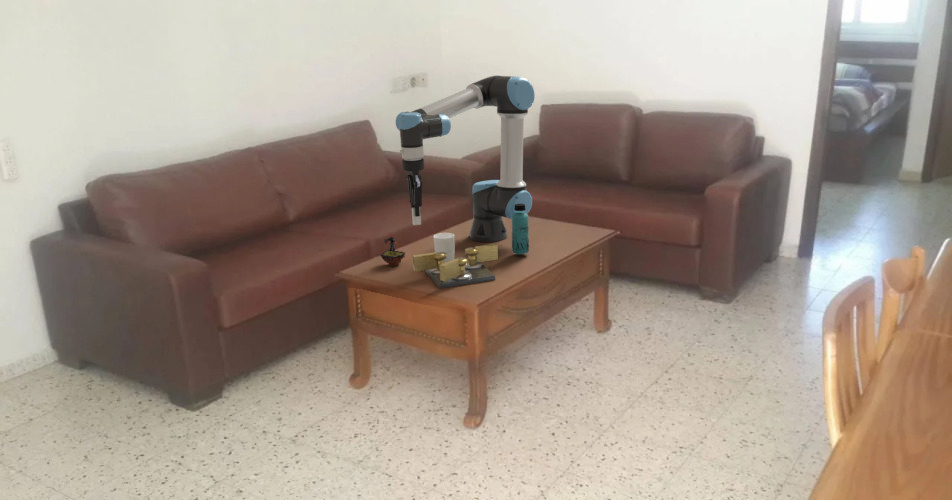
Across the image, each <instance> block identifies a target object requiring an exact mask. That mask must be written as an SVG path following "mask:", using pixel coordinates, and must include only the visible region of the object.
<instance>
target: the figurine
mask: <svg viewBox="0 0 952 500" xmlns="http://www.w3.org/2000/svg"><path fill="white" fill-rule="evenodd" d="M389 241H390V243H389V249H388V250H384V251H383V252H382V253H381V254H380V257H381V259H382V260H383V261H384V262H385V263H387V264H388V265H389V266H391V267H395V266H397V265H399V264H401V262H402V260H403V259H404V258H405V255H406V252H405V251H399V250H396V248H395V244H396V246H397V247H400V245H399V244H398V243H397V241H396V240H395V237H394V236H393V234H390V236H389V237H388V238H387V239H384V240H383V242H384V245H385V244H386V245H387V243H388V242H389Z"/></svg>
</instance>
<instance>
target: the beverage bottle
mask: <svg viewBox="0 0 952 500" xmlns="http://www.w3.org/2000/svg"><path fill="white" fill-rule="evenodd" d="M514 210H515V211H524V210H526V208H525V204H522V203H519V204H515V208H514ZM529 235H530V233H529V215H528V213H527V214H526V213H525V212H515V213H514V214H513V215H512V219H511V248H512V249H511V251H512V253H513V254H515V255H525V254H528V253H529V251H530V240H529V237H530V236H529Z"/></svg>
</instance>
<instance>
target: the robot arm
mask: <svg viewBox="0 0 952 500" xmlns="http://www.w3.org/2000/svg"><path fill="white" fill-rule="evenodd" d="M535 93H536V92H535V89H534V85H532V83H531V81H530V80H528V79H527V78H525V77H521V76H515V75H514V76H510V75H492V76H488V77H485V78H483V79H480V80H477V81H475V82H473V83H470V84H468V85H467V86H466V88H465V89H463V90H460V91H458V92H455V93H453V94H451V95H447V96H446V97H443V98H441V99H439V100H437V101H435V102H432V103H430V104H428V105H424V106H422V107H420V108H417V109H414V110H412V111H402V112H399V113H398V114H397V115H396V118H395V127H396V129H397V130H398V131H399V138H400V148H401V149H400V150H399V153H401V158H402V160H401V166H402V170H403V171H404V172H407V174H406V175H405V176H406V177H405V178H406V183H407V191H408V199H409V200H408V201H409V204H410V208H411V217H412V218H411V219H412V225H413V226H419V225H420V226H421V225H422V216H421V207H422V206H423V204H422V202H423V200H422V199H423V191H422V190H423V188H422V187H423V181H422V176H421V174H420V171H423V170H424V169H425V160H424V157H425V155H424V154H425V153H424V152H425V151H424V142H423V141H424V140H426V139H432V138H438V137H443V136H447V135H448V134H449V133H450V131H451V128H452V126H451V124H452V123H451V120H450V119H451V118H453V117H456V116H457V115H461V114H463V113H465V112H467V111H469V110H472V109H480V108H483V107H497V108H496V113H497V115H498V116H499V117H500V173H499V174H500V179H489V180H483V181H478V182H475V183H473V185H472V188H471V189H472V192H471V196H472V197H471V198H472V199H471V200H472V214H473V219H472V223H471V226H470V227H471V228H470V231H469V238H470V239H471V240H473V241H474V242H475V241H476V242H480V243H481V242H482V243H490V242H491V243H493V242H498V241H501V240H504V239H506V238H507V237H508V231H507V227H506V224H505V222H504V220H503V217H504V218H507V219H509V220H512V215H513V214H514V213H515V212H525V213H526V214H527V215H528V213H530V211H531V209H532V206H533V197H532V195H531V193H530V192H529V191H528V190H527V182H525V181H524V180H523V177H524V176H523V174H524V172H523V171H524V170H523V169H524V168H523V167H524V123H525V122H524V118H525V117H526V116H527V115H528V113H529V109H530V108H531V107H532V105H533V104H534V103H535V95H536V94H535ZM519 203H522V204H525V208H526V210H524V211H515V210H514V208H515V204H519Z"/></svg>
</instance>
